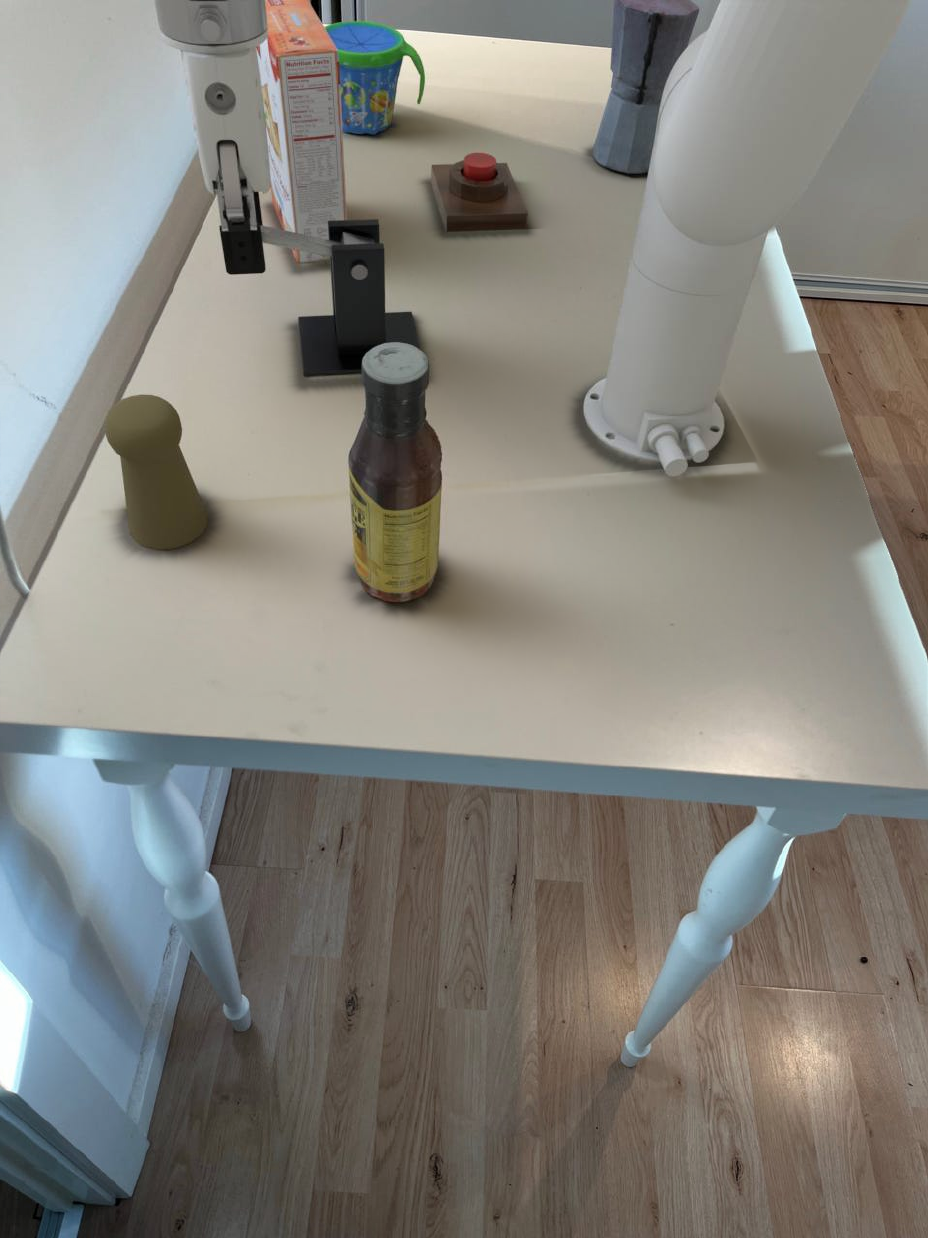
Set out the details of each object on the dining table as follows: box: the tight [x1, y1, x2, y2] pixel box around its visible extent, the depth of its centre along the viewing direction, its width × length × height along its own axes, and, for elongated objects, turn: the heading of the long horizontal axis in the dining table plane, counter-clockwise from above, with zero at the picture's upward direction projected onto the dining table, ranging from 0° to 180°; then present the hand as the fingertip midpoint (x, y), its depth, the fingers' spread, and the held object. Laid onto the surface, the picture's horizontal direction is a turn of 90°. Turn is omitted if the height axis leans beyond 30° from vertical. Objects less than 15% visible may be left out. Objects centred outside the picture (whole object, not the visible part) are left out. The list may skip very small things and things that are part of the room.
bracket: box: [297, 218, 422, 378], centre depth 85 cm, size 11×9×12 cm
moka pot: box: [592, 0, 700, 175], centre depth 110 cm, size 10×15×20 cm, turn 174°
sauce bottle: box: [347, 342, 443, 603], centre depth 64 cm, size 6×6×20 cm
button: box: [463, 152, 497, 181], centre depth 105 cm, size 4×4×2 cm
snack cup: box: [324, 20, 426, 136], centre depth 117 cm, size 16×10×10 cm
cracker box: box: [256, 0, 348, 264], centre depth 94 cm, size 14×6×21 cm, turn 18°
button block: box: [430, 159, 529, 233], centre depth 107 cm, size 12×9×4 cm
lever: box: [260, 225, 375, 257], centre depth 80 cm, size 12×5×2 cm, turn 100°
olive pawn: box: [104, 394, 209, 550], centre depth 70 cm, size 6×6×11 cm
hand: (245, 251), depth 80 cm, fingers closed on lever, 5 cm apart
